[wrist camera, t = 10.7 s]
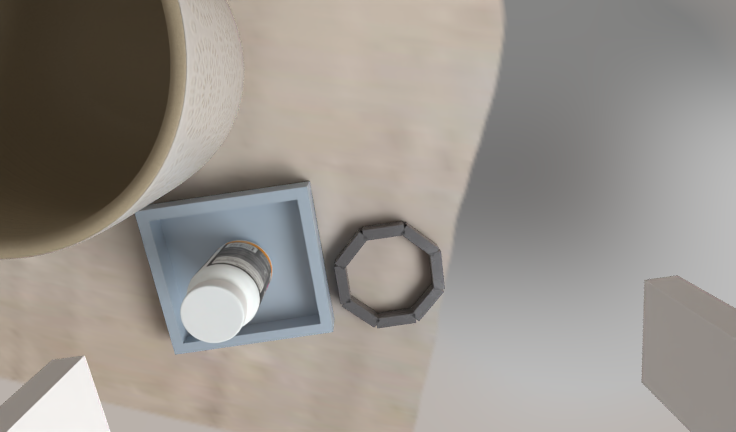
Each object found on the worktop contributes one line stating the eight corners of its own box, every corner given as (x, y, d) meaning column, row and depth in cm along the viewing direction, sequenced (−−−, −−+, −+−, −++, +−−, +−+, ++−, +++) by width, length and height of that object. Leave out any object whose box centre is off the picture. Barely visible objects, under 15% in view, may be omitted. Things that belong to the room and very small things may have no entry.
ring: (329, 231, 43) (328, 235, 42) (435, 216, 43) (437, 219, 42) (345, 326, 45) (345, 332, 44) (445, 312, 45) (447, 318, 44)
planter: (281, 175, 41) (224, 240, 23) (52, 197, 41) (-190, 280, 23) (244, -86, 36) (130, -273, 18) (-21, -61, 36) (-413, -223, 18)
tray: (146, 204, 42) (134, 211, 39) (309, 181, 42) (306, 186, 39) (184, 340, 45) (175, 354, 43) (334, 319, 45) (333, 331, 43)
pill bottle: (242, 305, 44) (211, 364, 34) (199, 262, 43) (155, 311, 33) (286, 269, 43) (267, 320, 34) (244, 225, 42) (211, 264, 32)
